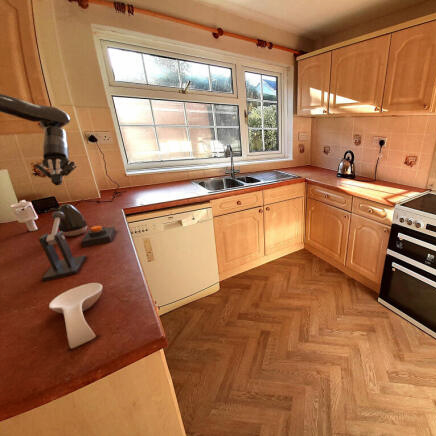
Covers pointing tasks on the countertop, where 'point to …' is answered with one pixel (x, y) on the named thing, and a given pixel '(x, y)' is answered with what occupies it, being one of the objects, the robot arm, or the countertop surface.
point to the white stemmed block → (25, 214)
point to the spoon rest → (77, 311)
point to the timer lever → (55, 227)
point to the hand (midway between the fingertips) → (57, 184)
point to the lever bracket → (59, 266)
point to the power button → (96, 228)
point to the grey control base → (98, 236)
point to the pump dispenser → (71, 221)
